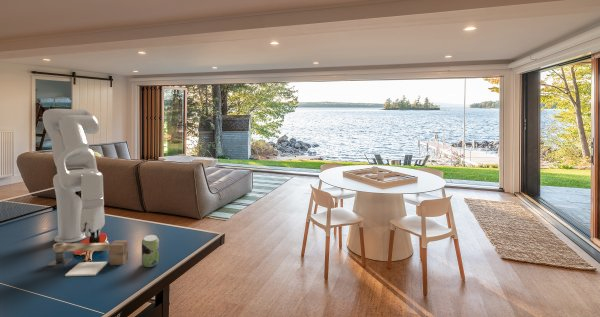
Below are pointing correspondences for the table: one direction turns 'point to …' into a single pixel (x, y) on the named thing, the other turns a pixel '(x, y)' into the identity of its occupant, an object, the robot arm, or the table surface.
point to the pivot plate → (60, 262)
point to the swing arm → (77, 248)
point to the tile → (86, 269)
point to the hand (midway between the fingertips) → (94, 246)
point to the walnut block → (118, 252)
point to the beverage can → (150, 250)
